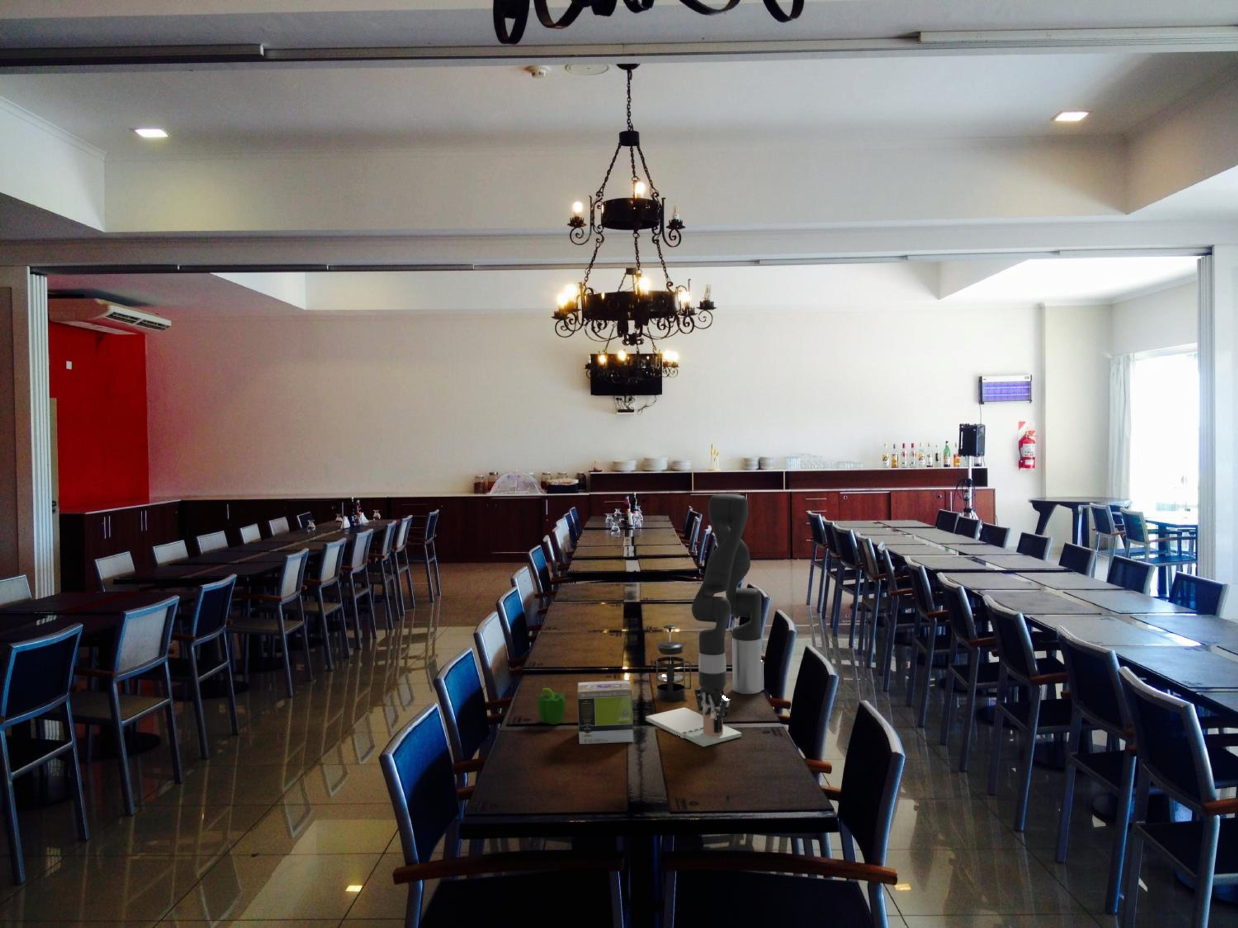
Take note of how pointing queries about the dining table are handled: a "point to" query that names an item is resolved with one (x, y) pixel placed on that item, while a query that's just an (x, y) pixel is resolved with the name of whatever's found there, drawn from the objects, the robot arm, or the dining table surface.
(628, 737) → the tea box
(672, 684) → the french press
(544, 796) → the dining table surface
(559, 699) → the bell pepper
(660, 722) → the white notebook
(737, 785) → the dining table surface
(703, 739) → the stub
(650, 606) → the dining table surface
